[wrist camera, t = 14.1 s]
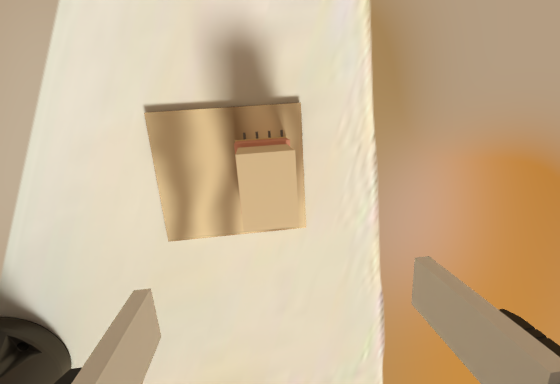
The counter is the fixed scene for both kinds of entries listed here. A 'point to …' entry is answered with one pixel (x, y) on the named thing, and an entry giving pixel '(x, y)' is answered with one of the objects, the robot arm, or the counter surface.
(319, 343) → the counter surface
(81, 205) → the counter surface
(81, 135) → the counter surface
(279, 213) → the block
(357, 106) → the counter surface
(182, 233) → the board
